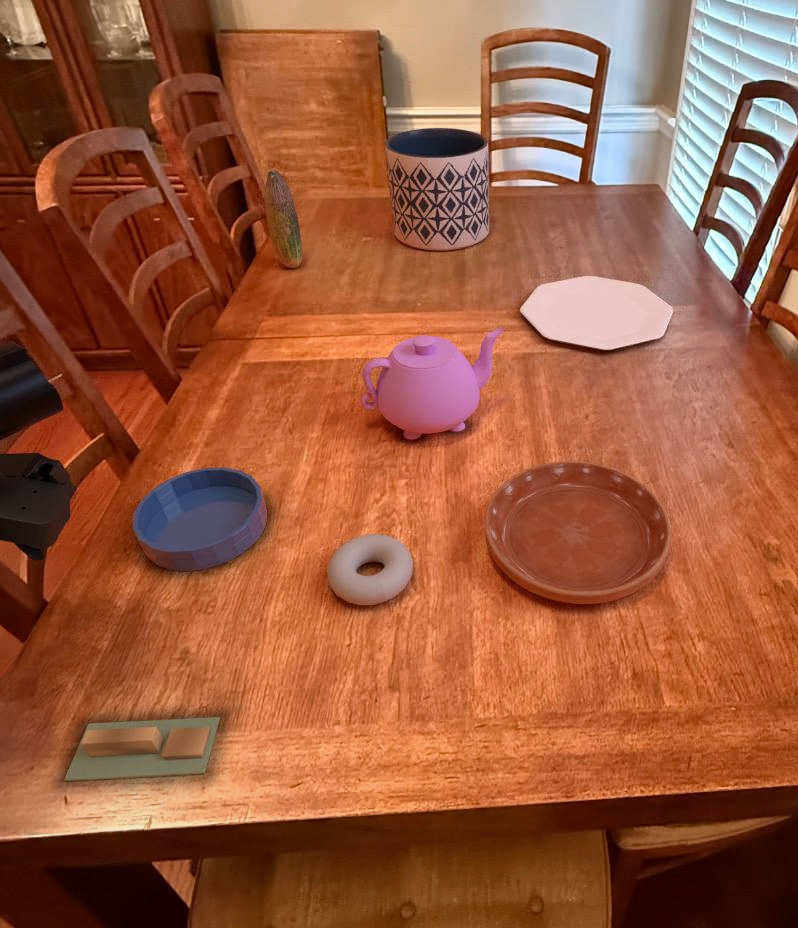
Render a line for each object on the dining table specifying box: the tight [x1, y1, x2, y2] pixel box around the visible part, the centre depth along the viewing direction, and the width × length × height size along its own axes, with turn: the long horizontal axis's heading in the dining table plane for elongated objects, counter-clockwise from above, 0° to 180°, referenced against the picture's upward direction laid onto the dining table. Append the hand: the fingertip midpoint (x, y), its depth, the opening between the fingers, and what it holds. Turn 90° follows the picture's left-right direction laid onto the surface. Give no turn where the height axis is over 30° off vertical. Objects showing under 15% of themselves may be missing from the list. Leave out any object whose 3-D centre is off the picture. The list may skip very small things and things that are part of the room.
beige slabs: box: [80, 727, 211, 760], centre depth 65 cm, size 11×3×2 cm, turn 94°
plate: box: [519, 275, 674, 352], centre depth 133 cm, size 28×28×2 cm
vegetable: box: [263, 169, 304, 269], centre depth 142 cm, size 6×6×20 cm
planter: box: [384, 127, 490, 252], centre depth 157 cm, size 22×22×20 cm
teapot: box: [360, 328, 505, 440], centre depth 103 cm, size 22×16×14 cm
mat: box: [63, 716, 221, 782], centre depth 66 cm, size 13×6×1 cm, turn 93°
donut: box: [326, 533, 414, 606], centre depth 82 cm, size 10×3×10 cm
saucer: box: [484, 460, 672, 605], centre depth 86 cm, size 23×23×4 cm
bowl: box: [132, 466, 268, 572], centre depth 88 cm, size 15×15×4 cm
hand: (16, 595), depth 65 cm, fingers open, 9 cm apart
